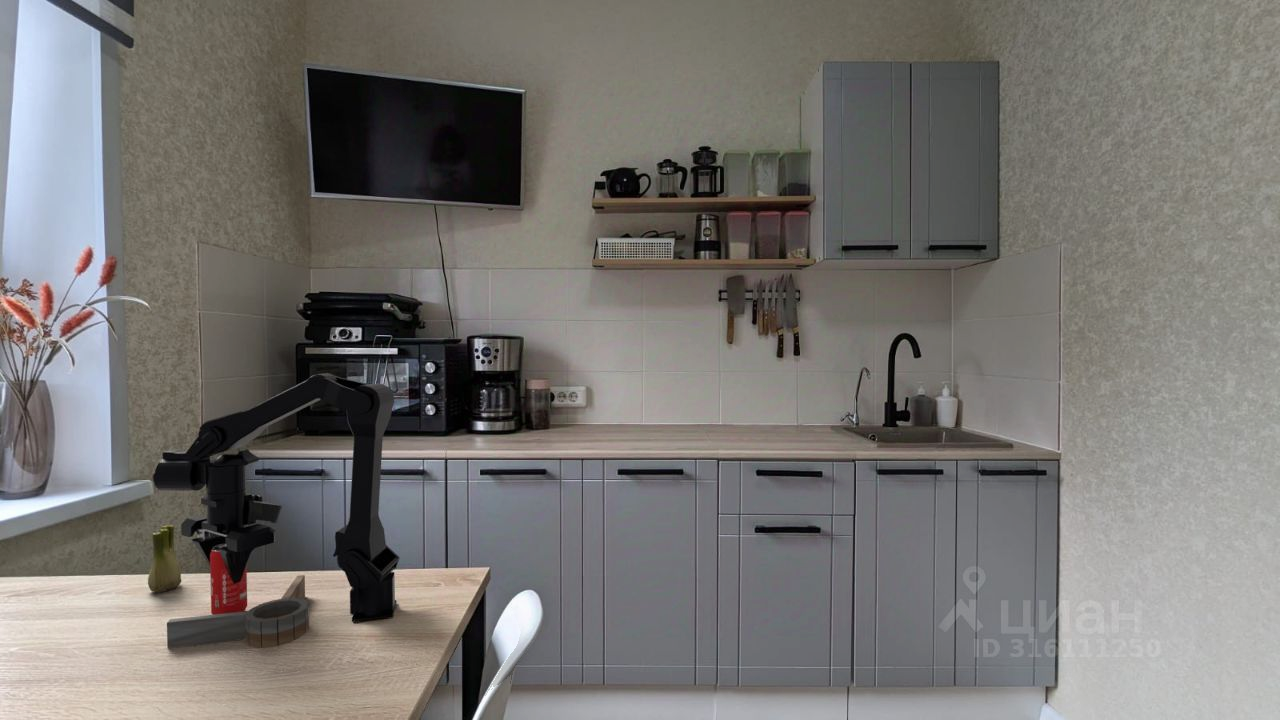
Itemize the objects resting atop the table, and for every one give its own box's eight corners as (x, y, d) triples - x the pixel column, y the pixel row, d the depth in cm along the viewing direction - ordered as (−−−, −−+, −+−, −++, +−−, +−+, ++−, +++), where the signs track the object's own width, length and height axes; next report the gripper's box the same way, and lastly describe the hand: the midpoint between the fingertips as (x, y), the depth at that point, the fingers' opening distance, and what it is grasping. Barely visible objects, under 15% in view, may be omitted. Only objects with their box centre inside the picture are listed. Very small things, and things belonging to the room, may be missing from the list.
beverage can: (229, 623, 104) (228, 552, 103) (203, 620, 105) (202, 550, 104) (254, 609, 109) (253, 542, 108) (229, 607, 110) (228, 540, 110)
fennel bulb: (158, 597, 115) (156, 532, 114) (138, 594, 116) (137, 530, 115) (189, 585, 120) (187, 523, 120) (170, 582, 121) (168, 521, 121)
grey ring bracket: (300, 642, 97) (300, 617, 97) (155, 660, 92) (155, 633, 92) (327, 594, 116) (326, 572, 115) (208, 606, 110) (207, 584, 110)
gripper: (304, 486, 109) (306, 574, 109) (245, 475, 118) (246, 556, 118) (237, 501, 99) (239, 597, 100) (178, 487, 108) (180, 575, 109)
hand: (228, 580), depth 107 cm, fingers closed on beverage can, 5 cm apart
